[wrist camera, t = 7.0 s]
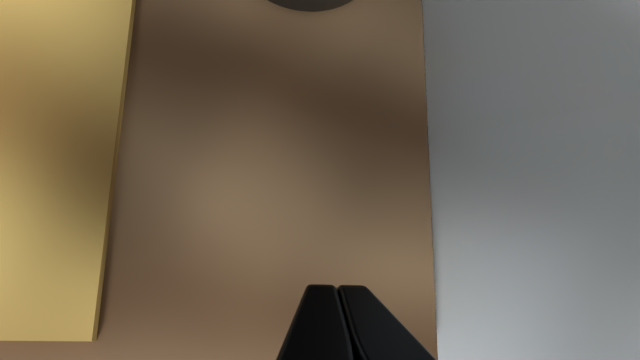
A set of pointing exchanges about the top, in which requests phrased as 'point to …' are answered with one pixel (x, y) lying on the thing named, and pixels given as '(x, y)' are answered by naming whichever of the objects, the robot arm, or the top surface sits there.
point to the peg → (310, 4)
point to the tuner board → (207, 173)
